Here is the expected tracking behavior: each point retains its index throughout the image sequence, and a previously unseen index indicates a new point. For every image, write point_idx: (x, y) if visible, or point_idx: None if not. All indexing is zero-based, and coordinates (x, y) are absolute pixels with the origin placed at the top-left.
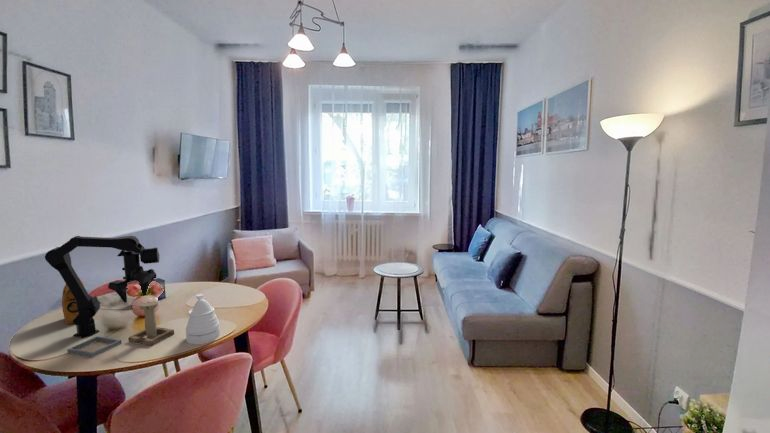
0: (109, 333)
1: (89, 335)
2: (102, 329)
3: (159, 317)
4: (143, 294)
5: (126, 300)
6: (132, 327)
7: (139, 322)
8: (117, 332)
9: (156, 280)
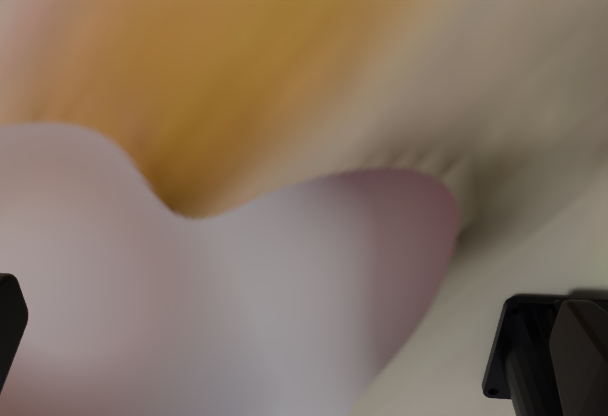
0: (534, 187)
1: (603, 301)
2: (455, 309)
3: (20, 16)
4: (16, 322)
5: (601, 330)
6: (356, 86)
7: (225, 126)
8: (503, 132)
9: None
